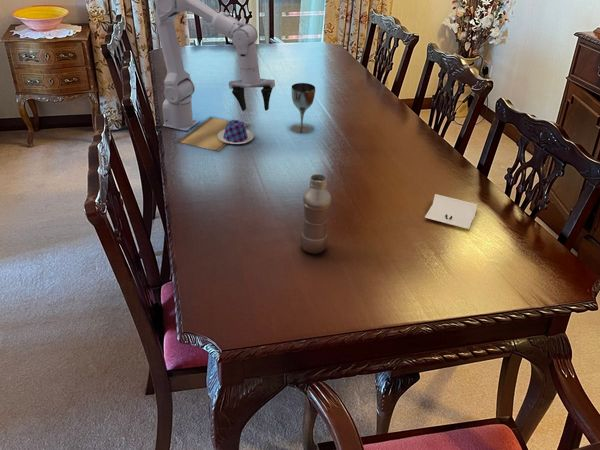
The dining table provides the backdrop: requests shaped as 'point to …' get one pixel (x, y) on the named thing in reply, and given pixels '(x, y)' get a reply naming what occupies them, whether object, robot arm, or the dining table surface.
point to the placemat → (207, 135)
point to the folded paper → (452, 211)
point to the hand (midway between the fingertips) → (255, 109)
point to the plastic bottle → (315, 215)
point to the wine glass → (302, 103)
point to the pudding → (235, 133)
